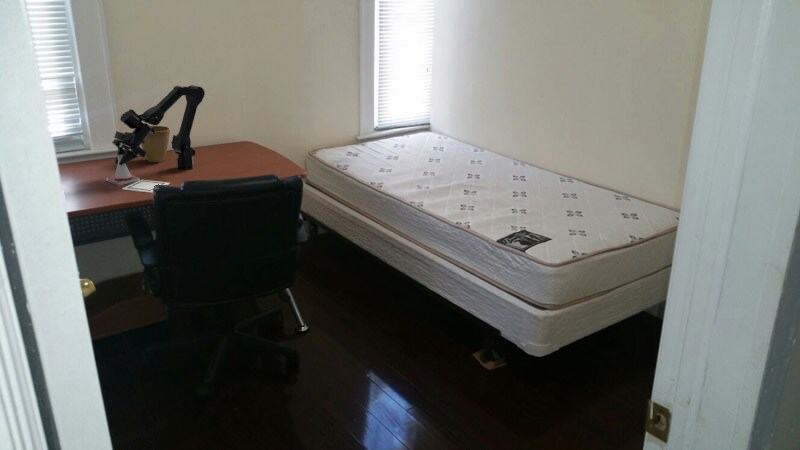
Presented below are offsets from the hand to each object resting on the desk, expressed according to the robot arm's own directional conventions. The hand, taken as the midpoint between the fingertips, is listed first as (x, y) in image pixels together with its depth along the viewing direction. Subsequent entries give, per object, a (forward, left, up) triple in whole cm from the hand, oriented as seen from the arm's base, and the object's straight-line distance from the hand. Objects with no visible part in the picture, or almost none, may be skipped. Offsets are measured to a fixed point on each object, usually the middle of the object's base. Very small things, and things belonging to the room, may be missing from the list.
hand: (117, 163), depth 279 cm
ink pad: (-1, -1, -8) cm, 8 cm away
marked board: (-13, +8, -8) cm, 17 cm away
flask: (-1, -1, -7) cm, 7 cm away
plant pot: (-9, -35, -8) cm, 37 cm away
